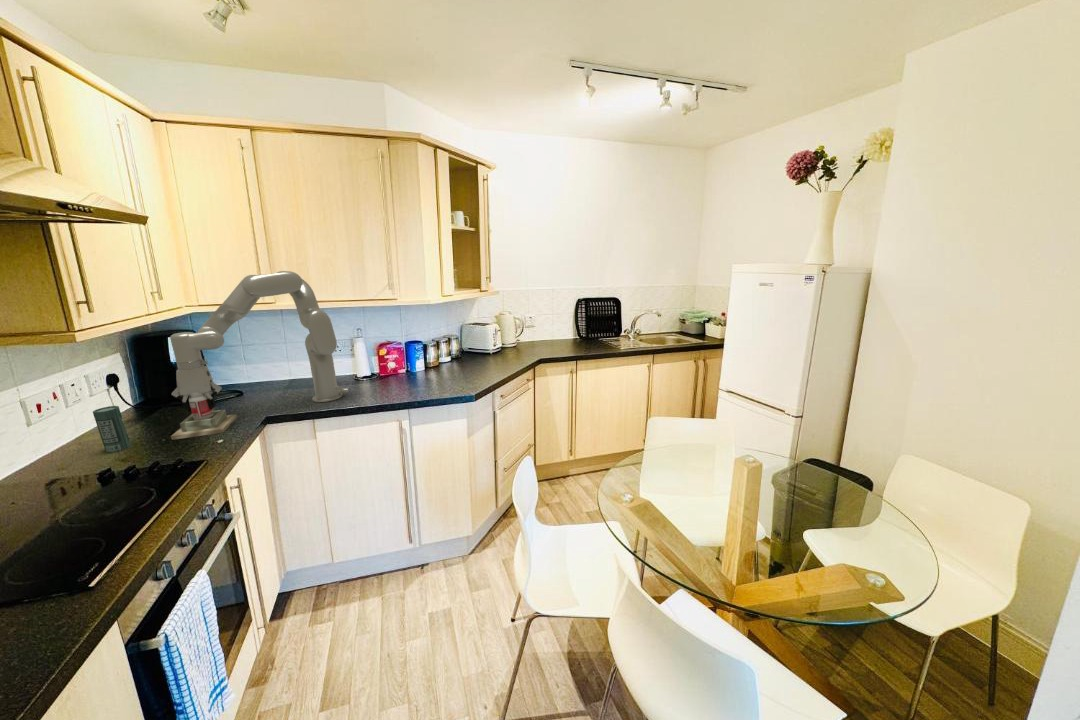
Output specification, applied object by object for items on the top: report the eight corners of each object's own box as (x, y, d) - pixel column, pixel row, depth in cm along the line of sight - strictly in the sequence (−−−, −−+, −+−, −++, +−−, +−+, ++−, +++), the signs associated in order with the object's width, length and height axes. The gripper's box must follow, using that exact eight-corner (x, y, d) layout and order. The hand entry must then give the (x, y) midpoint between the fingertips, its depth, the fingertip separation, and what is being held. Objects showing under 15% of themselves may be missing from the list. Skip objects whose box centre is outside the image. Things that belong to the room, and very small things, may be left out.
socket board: (237, 417, 171) (234, 406, 169) (223, 432, 156) (220, 420, 155) (190, 423, 166) (187, 412, 164) (171, 439, 151) (168, 427, 150)
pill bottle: (216, 413, 164) (209, 387, 161) (210, 419, 158) (203, 392, 155) (197, 416, 161) (190, 389, 159) (190, 421, 156) (183, 394, 153)
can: (133, 443, 149) (122, 404, 145) (124, 450, 143) (112, 410, 140) (112, 446, 147) (99, 407, 143) (102, 453, 141) (88, 413, 137)
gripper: (221, 360, 161) (231, 403, 165) (167, 365, 155) (178, 409, 159) (214, 364, 154) (224, 409, 158) (157, 370, 148) (169, 416, 153)
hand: (201, 409), depth 159 cm, fingers closed on pill bottle, 6 cm apart
